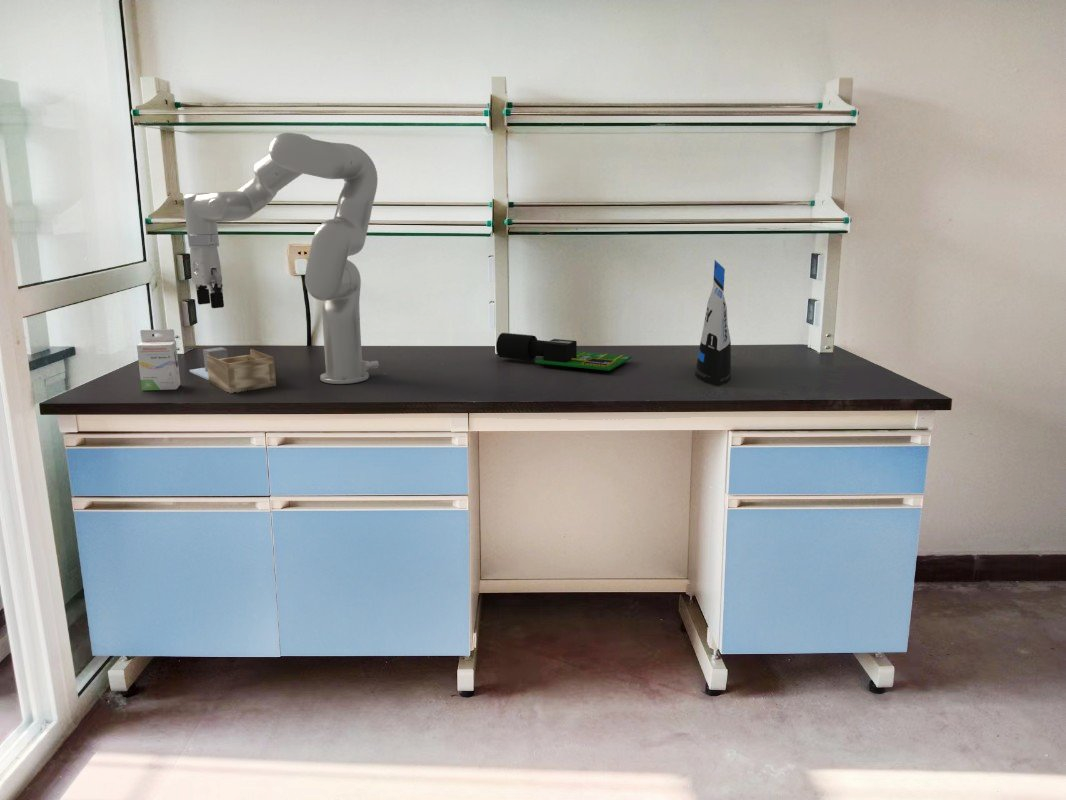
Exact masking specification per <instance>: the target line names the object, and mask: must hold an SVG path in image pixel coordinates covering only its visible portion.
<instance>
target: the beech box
mask: <svg viewBox="0 0 1066 800" xmlns="http://www.w3.org/2000/svg"><path fill="white" fill-rule="evenodd" d="M249 353H250V354H245V355H238V356H231V357H228V358H223V359H216V358H214V357H212V356H209V355H206V357H207V367H208V376H209V380H208V383H209V384H210V385H212V386H214V387H216V388H218V389H221V390H222V391H224V392H226V393H228V392H229V394H234V392H236V393H241V391H242V392H248V391H252V390H258V389H265V388H270V387H276V386H277V381H276V370H275V358H274V357H273V356H272V355H269V354H266V353H263V352H260V351H257V350H255V349H252V348H250V349H249ZM247 390H248V391H247Z"/></svg>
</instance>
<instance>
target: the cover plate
mask: <svg viewBox="0 0 1066 800" xmlns="http://www.w3.org/2000/svg"><path fill="white" fill-rule="evenodd" d="M202 351H203V362H204V367H200V368H193V369H189V373H191V374H193V375H196V376H198V377H200V378H203V379H205V380H207V381H209V376H208V367H207V357H206V355H209V356H212V357H214V358H216V359H223V358H229V356H228V348H225V347H222V346H221V347H213V348H207V349H202Z"/></svg>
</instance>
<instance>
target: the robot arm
mask: <svg viewBox="0 0 1066 800" xmlns="http://www.w3.org/2000/svg"><path fill="white" fill-rule="evenodd" d="M375 165H376V164H375V163H374V161H373V160H372V158H371V157H370V155H369V154H367V152H366V151H364V150H363V149H362V148H360V147H358V146H357V145H353V144H350V143H345V142H343V143H342V142H341V143H340V142H330V141H324V140H319V139H315V138H313V137H310V136H309V135H306V134H303V133H295V132H283V133H280V134H278V135H276V136H275V137H274V138H273V139H272V140H271V142H270V144H269V151H268V154H266V155H264V156H263V157H262V158H260V159H259V160H258V161H256V162H255V163H254V165H253V172H254V177H253V178H252V179H251V180H250V181H249V182H247V183H245V185H243V186H242V187H240V188H239V189H237V190H235V191H216V192H211V193H210V192H192V193H191V192H189V193H186V194H185V195H184V196H183V207H184V217H185V224H186V233H187V234H186V235H187V240H188V241H187V242H188V248H190V250H189V252H190V253H189V254H190V255H189V257H190V274H191V276H190V277H191V282H192V283H193V284H195V292H196V299H197V304H198V305H199V306H200V305H209V304H210V306H211V308H212V309H220V308H224V307H225V302H224V293H223V291H224V290H223V286H224V285H223V277H222V275H223V274H222V267H221V260H220V255H219V250H218V247H220V239H219V231H218V223H227V222H236V221H244V220H247V219H249V218H251V217H252V216H253V215H255V214H257V212H260V211H261V210H262V209H264V208H265V207H266V206H267V205H269V204H270V203H271V202H272V201H273V199H274V198H275V196H276V195H277V194H278V192H279V191H280V190H282V189H283V188H284V187H286V186H288V185H289V184H290V183H292V182H293V181H294V180H296V179H297V178H298V177H300V176H301V175H303V174H304V175H308V176H313V177H318V178H321V179H326V180H343V181H344V184H343V188H342V189H341V192H340V194H339V197H338V200H337V205H336V210H335V213H334V217H333V219H332V218H331V219H327V220H325V221H323V222H322V223H321V224H319V225H318V227H317V228H316V230H315V231H314V233H313V236H312V241H311V245H310V249H309V253H308V254H309V255H308V259H307V264H306V268H305V274H304V285H305V287H306V290H307V292H308V294H309V295H310V296H311V297H312V298H314V299H315V300H317V301H322V307H321V308H322V309H321V310H322V312H321V313H322V314H321V316H322V331H323V345H324V346H323V349H324V361H325V362H324V363H325V372H324V373H322V374H320V375H319V377H320V379H319V380H320V381H322V382H323V383H326V384H332V385H333V384H334V385H335V384H336V385H346V384H354V383H355V384H356V383H361V382H364V381H367V380H368V379H369V378H370V375H369V372H368V371H369V370H370V369H377V368H379V366H380V364H379V361H378V360H372V361H369V360H364V359H363V354H362V353H363V352H362V336H361V333H362V332H361V317H360V315H361V314H360V310H361V309H360V300H361V299H360V297H361V286H362V283H361V282H362V280H361V275H360V271H359V269H358V267H357V266H356V264H355V263H354V262H352V261H351V260H348V257H350V256H354V255H356V254H359V253H360V252H361V251H362V250H363V248H364V246H365V243H366V239H367V233H368V229H369V224H370V220H371V217H372V210H373V206H374V202H375V197H376V194H377V189H378V171H377V168H376V166H375Z"/></svg>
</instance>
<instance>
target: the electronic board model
mask: <svg viewBox="0 0 1066 800" xmlns="http://www.w3.org/2000/svg"><path fill="white" fill-rule="evenodd" d="M577 343H578V342H577V340H570V339H560V338H553V339H551V340H539V339H538V338H537V336H536V335H532V334H524V333H511V332H501V333H500V334H498V337H497V340H496V344H495V346H496V347H495V348H496V349H495V350H496V354H497V356H498V357H499V358H503V359H513V360H523V361H529V362H532V361H534V360H535V358H536V357H541V358H539V359H537V360H535V361H534V363H536V364H542V365H543V368H547V369H555V370H564V371H566V370H569V369H571V368H581V369H590V370H600V371H609V372H610V371H611V370H613V369H616V368H617V367H619V366H621V365H623V364H624V363H626V362H627V361H629V360H631V359H632V356H631V355H624V354H622V355H621V354H611V353H601V352H590V351H579V350H578V349H577V346H578V345H577Z"/></svg>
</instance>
